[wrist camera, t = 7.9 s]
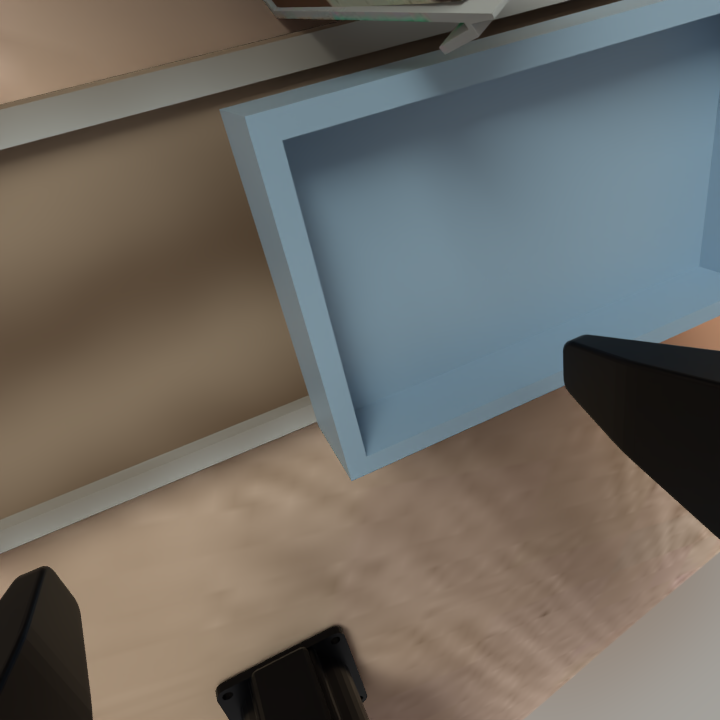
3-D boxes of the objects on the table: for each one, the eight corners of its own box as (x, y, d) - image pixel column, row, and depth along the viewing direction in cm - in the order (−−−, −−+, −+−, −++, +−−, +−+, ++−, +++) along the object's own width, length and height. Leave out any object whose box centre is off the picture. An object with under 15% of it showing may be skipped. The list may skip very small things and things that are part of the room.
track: (635, 268, 25) (664, 278, 24) (-56, 549, 19) (-68, 584, 17) (652, -56, 19) (692, -66, 18) (-369, 195, 13) (-425, 209, 11)
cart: (650, 255, 23) (766, 294, 19) (301, 396, 20) (351, 481, 16) (668, -18, 18) (830, -46, 14) (206, 105, 15) (244, 116, 11)
